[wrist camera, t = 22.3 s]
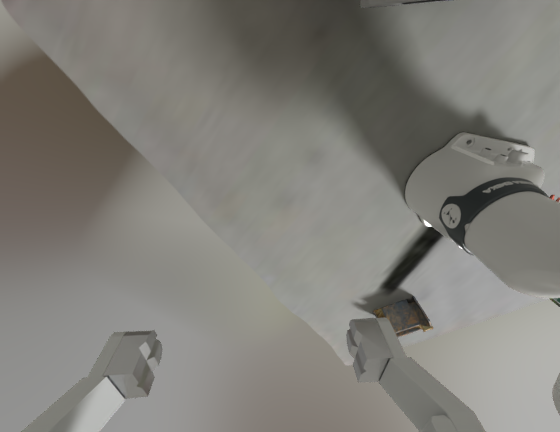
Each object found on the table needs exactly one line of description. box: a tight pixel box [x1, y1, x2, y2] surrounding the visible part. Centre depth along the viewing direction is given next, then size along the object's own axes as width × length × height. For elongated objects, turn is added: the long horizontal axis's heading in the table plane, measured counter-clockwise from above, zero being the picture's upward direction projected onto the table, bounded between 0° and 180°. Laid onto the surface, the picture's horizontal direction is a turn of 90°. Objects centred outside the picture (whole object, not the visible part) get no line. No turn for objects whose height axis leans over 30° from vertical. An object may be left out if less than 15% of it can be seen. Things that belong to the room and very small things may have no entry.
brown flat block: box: [373, 296, 433, 338], centre depth 62 cm, size 11×3×10 cm, turn 119°
